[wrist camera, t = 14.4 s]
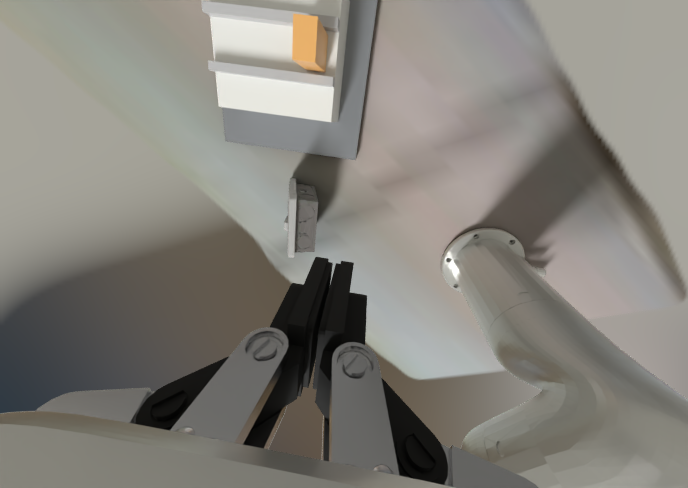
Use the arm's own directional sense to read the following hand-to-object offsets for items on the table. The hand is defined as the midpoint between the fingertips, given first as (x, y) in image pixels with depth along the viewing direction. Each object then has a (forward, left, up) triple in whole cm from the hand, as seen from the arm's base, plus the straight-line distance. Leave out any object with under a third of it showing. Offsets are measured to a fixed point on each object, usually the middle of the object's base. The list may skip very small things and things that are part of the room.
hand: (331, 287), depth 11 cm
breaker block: (+11, -12, -29) cm, 33 cm away
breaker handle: (+6, -12, -22) cm, 25 cm away
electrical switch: (+8, +7, -29) cm, 31 cm away
